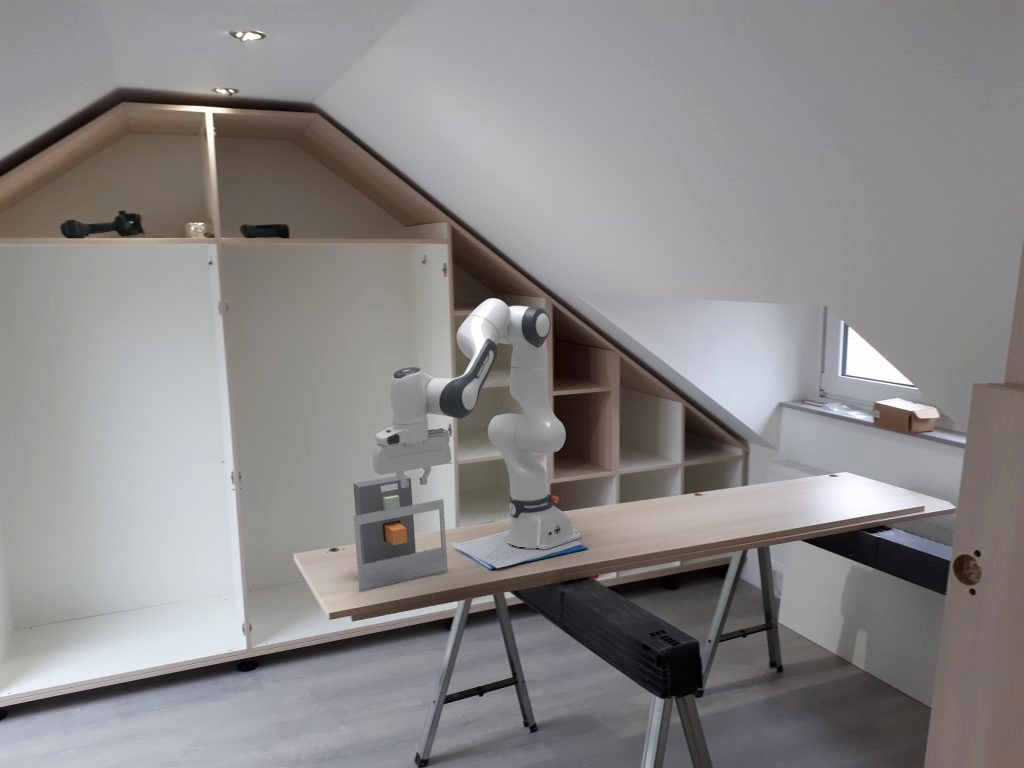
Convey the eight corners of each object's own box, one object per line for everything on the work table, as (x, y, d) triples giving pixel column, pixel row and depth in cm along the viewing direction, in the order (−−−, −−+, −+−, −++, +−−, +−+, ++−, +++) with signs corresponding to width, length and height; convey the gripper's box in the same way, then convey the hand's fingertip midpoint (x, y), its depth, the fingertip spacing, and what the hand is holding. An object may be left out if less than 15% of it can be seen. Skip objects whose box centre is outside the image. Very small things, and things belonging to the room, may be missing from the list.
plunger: (407, 542, 230) (406, 528, 229) (393, 545, 228) (392, 531, 227) (398, 535, 236) (397, 521, 235) (384, 538, 234) (383, 524, 234)
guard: (447, 570, 235) (443, 499, 232) (359, 591, 223) (354, 516, 220) (436, 563, 241) (432, 493, 239) (351, 582, 230) (345, 509, 227)
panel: (419, 569, 237) (413, 479, 233) (368, 581, 230) (361, 488, 226) (410, 562, 243) (404, 474, 239) (360, 573, 236) (353, 483, 232)
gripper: (443, 425, 220) (446, 476, 222) (368, 436, 211) (372, 489, 213) (453, 428, 214) (456, 481, 216) (376, 440, 205) (380, 495, 207)
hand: (414, 485), depth 214 cm, fingers open, 4 cm apart
